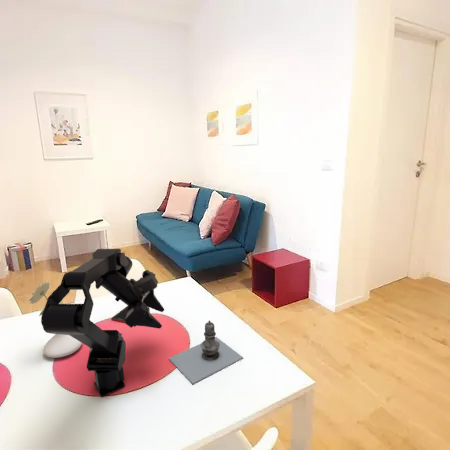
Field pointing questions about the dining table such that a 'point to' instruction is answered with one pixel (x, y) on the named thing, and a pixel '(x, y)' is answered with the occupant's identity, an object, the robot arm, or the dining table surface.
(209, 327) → the dark grey chess piece
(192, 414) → the dining table surface
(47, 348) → the flower in vase
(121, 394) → the dining table surface
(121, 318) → the cell phone
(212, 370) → the mat
